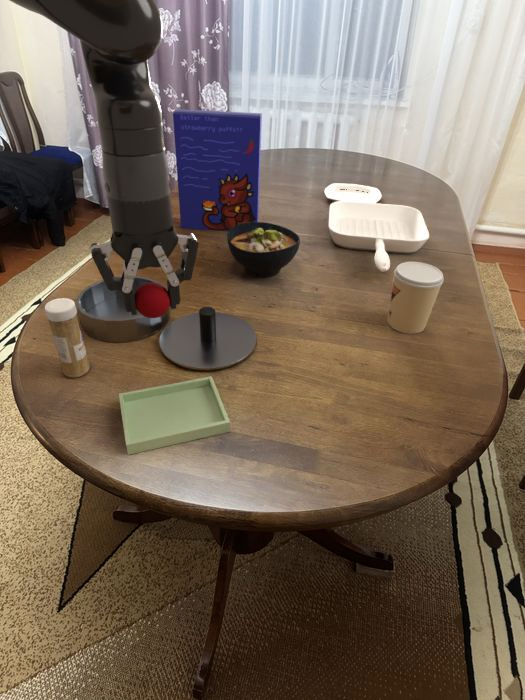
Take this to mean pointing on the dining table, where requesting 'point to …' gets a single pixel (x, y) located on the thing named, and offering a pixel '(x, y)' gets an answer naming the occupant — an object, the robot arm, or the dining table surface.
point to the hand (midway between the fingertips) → (153, 308)
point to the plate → (352, 193)
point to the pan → (377, 228)
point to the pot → (115, 314)
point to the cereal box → (217, 167)
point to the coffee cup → (413, 296)
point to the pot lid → (207, 340)
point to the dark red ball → (152, 300)
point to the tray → (172, 414)
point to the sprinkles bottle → (67, 336)
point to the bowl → (262, 247)
